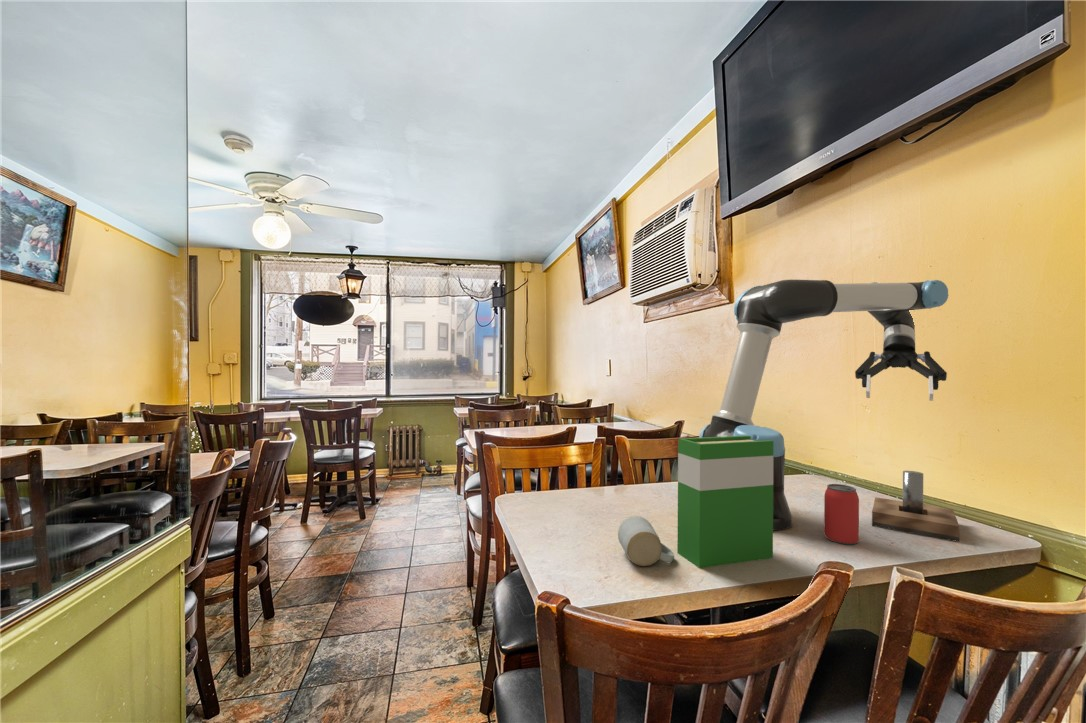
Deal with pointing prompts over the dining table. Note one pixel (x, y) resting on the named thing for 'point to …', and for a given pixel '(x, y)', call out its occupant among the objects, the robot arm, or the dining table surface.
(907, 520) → the socket block
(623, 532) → the ceramic mug
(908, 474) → the steel pin
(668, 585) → the dining table surface
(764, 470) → the cereal box
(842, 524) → the beer can
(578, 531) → the dining table surface
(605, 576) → the dining table surface
